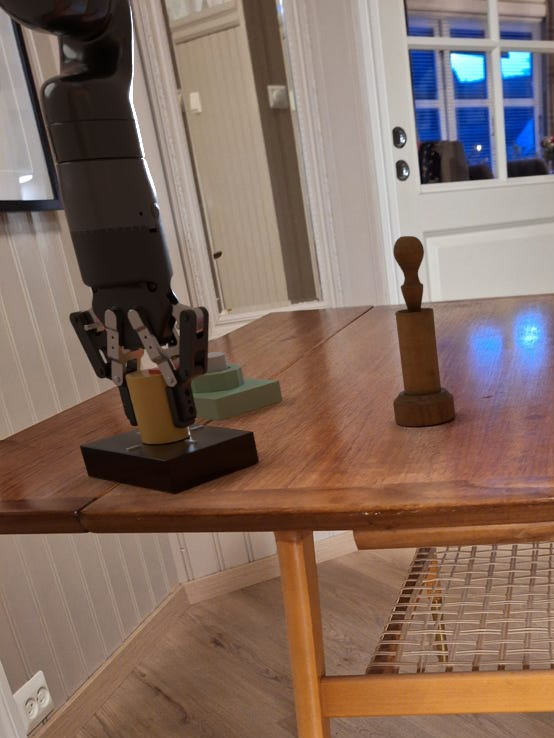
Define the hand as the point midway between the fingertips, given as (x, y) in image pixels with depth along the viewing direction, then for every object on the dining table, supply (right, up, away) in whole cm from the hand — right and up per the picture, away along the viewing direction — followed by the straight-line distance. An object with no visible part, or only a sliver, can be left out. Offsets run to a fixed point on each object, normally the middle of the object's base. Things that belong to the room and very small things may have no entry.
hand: (163, 424), depth 81 cm
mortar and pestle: (+24, +4, +13) cm, 27 cm away
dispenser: (-2, +8, +25) cm, 27 cm away
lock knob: (0, -1, +1) cm, 1 cm away
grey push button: (-3, +12, +23) cm, 26 cm away
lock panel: (0, -4, +2) cm, 4 cm away
